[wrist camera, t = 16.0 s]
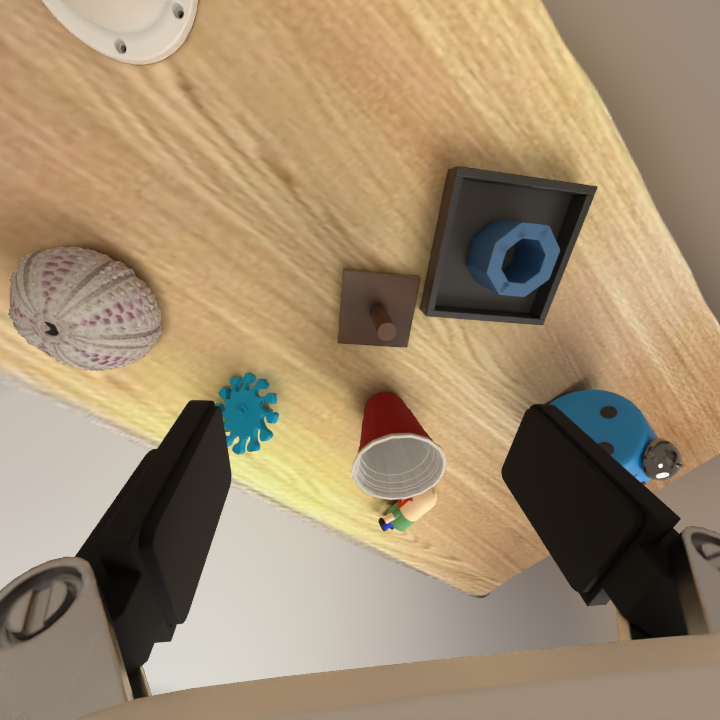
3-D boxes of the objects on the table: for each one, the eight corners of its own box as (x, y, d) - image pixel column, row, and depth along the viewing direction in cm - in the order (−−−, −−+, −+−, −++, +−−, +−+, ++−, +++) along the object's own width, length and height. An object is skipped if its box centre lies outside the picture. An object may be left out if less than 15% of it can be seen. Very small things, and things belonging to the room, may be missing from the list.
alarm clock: (532, 444, 51) (604, 529, 38) (513, 425, 49) (582, 508, 35) (604, 395, 48) (711, 469, 34) (587, 371, 45) (695, 441, 32)
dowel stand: (343, 268, 35) (346, 283, 29) (418, 275, 37) (438, 292, 30) (337, 340, 39) (339, 368, 33) (405, 344, 41) (420, 372, 34)
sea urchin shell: (187, 349, 38) (155, 383, 31) (76, 363, 38) (17, 401, 31) (141, 235, 32) (88, 244, 25) (8, 251, 32) (-85, 264, 24)
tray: (447, 169, 32) (458, 166, 29) (578, 187, 34) (598, 186, 31) (419, 309, 38) (426, 316, 36) (530, 318, 40) (543, 325, 38)
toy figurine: (395, 511, 59) (437, 474, 54) (407, 535, 56) (452, 498, 51) (365, 516, 53) (409, 476, 49) (377, 543, 50) (424, 503, 46)
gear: (258, 359, 38) (281, 437, 35) (287, 365, 43) (309, 433, 40) (196, 395, 41) (211, 469, 38) (230, 397, 46) (246, 462, 43)
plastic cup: (332, 421, 45) (333, 488, 35) (372, 364, 41) (387, 420, 31) (392, 447, 49) (409, 515, 38) (434, 397, 45) (466, 457, 34)
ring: (476, 217, 34) (501, 219, 29) (535, 224, 35) (569, 227, 30) (460, 281, 37) (480, 293, 32) (514, 286, 38) (542, 298, 33)
